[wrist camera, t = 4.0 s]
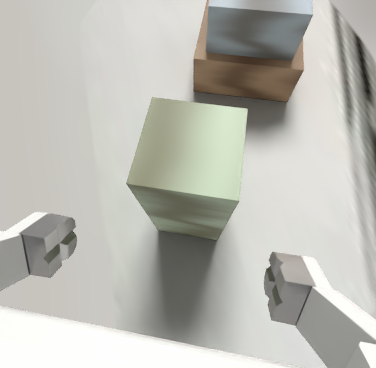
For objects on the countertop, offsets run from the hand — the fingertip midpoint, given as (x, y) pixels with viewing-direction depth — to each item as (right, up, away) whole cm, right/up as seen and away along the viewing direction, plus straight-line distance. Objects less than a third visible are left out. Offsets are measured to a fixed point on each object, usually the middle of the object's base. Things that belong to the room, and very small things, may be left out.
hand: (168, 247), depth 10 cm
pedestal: (+7, +17, +17) cm, 25 cm away
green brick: (+1, +1, +11) cm, 11 cm away
